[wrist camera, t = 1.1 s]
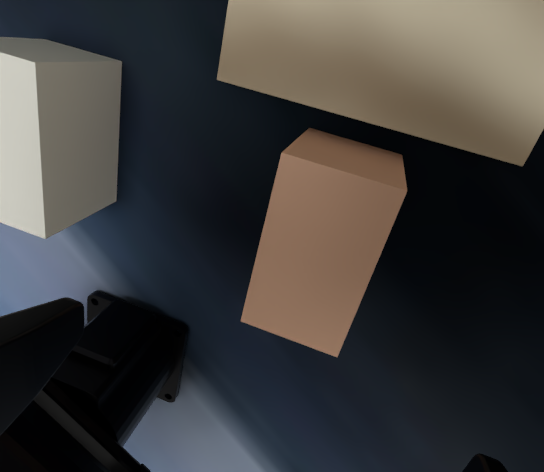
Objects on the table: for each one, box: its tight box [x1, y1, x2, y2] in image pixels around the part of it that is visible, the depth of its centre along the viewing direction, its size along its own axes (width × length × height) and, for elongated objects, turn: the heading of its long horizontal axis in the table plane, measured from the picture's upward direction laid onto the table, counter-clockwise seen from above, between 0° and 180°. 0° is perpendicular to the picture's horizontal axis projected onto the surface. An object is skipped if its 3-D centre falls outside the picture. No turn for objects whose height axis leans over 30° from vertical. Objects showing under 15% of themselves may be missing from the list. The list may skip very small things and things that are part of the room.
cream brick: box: [0, 37, 122, 239], centre depth 17 cm, size 7×4×5 cm, turn 167°
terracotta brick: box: [241, 128, 407, 357], centre depth 16 cm, size 7×4×5 cm, turn 167°
